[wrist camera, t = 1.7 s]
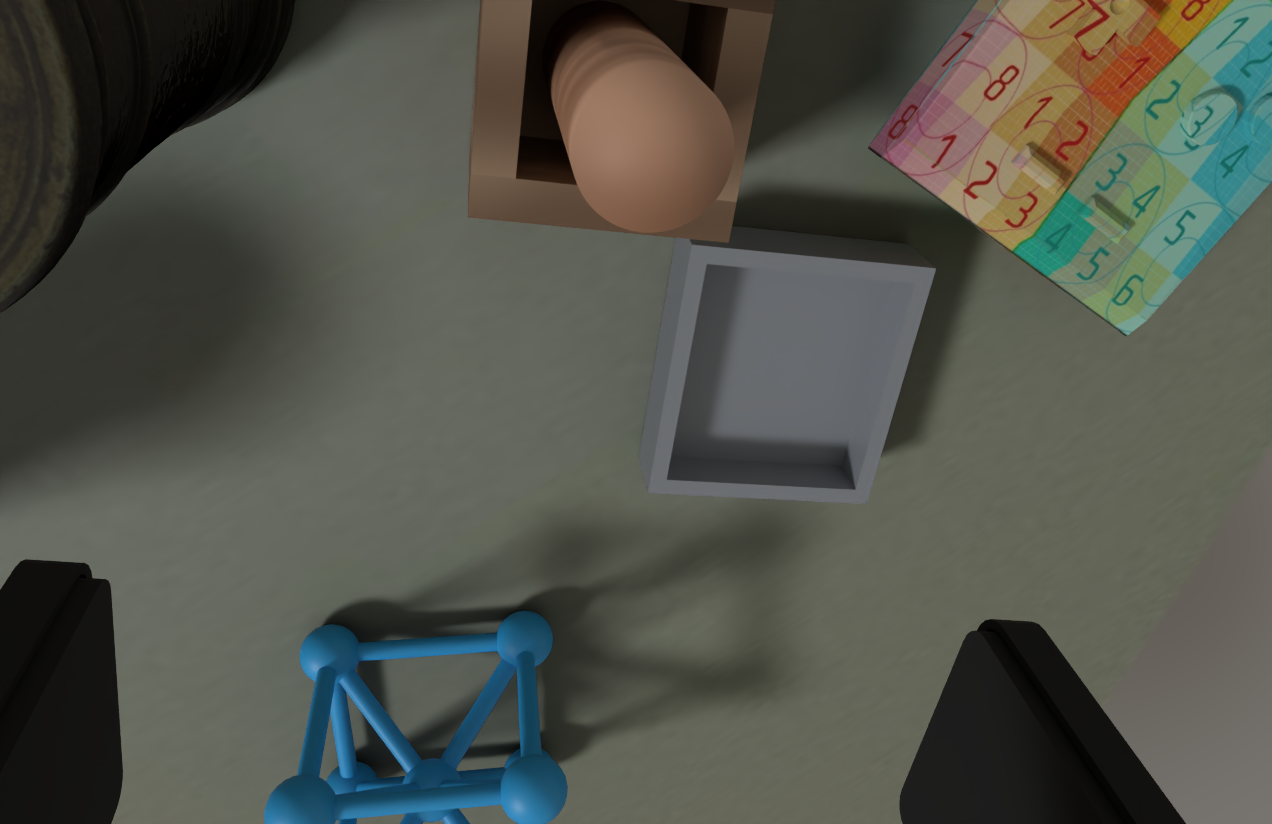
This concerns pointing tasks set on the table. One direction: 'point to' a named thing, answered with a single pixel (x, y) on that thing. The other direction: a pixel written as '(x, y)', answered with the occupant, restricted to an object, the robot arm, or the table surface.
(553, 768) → the molecular structure
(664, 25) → the pin cup
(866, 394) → the tray
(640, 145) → the dowel
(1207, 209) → the puzzle game
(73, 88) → the container
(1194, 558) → the table surface
